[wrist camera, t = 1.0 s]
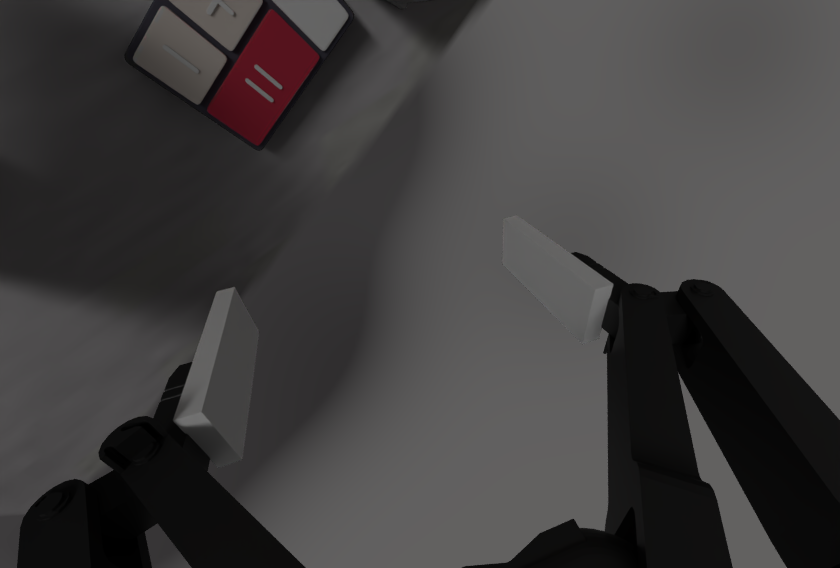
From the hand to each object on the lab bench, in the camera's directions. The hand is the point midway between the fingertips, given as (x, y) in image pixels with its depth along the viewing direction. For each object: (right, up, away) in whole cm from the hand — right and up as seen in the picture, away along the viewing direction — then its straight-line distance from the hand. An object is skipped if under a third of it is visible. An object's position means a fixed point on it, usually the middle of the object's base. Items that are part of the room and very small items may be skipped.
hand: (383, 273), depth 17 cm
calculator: (-14, +22, +13) cm, 29 cm away
